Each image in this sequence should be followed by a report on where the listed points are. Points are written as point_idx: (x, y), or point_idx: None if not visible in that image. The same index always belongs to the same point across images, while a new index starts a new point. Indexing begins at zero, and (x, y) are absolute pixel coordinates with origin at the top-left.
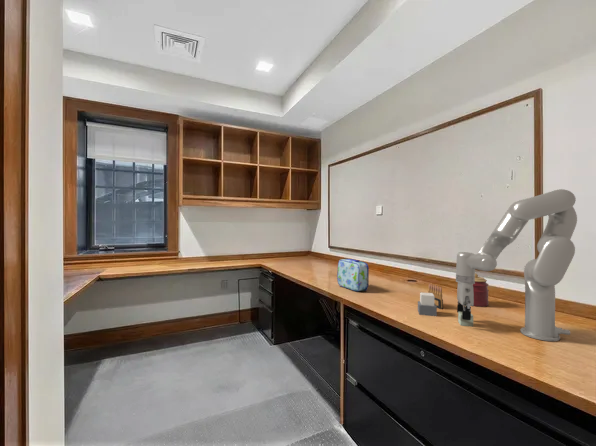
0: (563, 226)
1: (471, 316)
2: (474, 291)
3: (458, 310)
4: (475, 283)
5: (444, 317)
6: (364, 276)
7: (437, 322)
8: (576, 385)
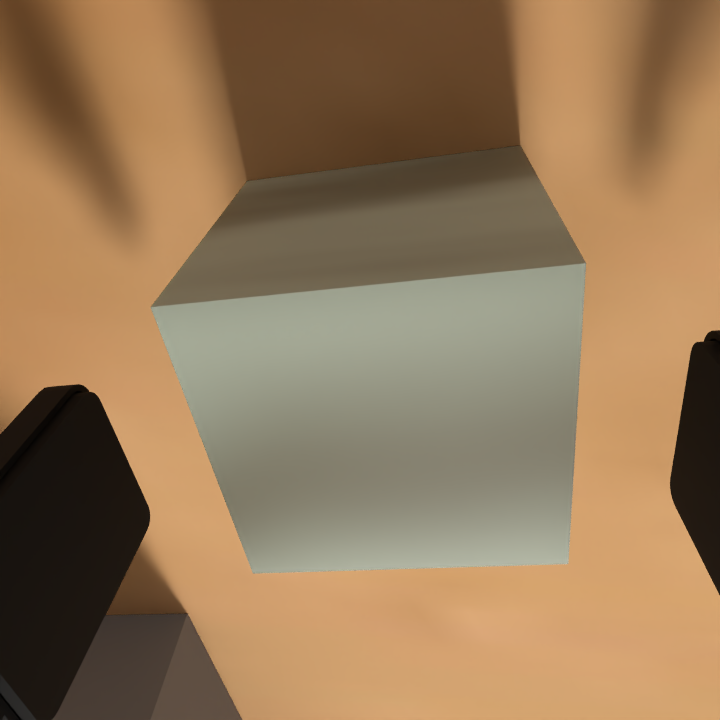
0: None
1: (573, 307)
2: None
3: (122, 551)
4: None
5: (169, 542)
6: None
7: (488, 628)
8: None
